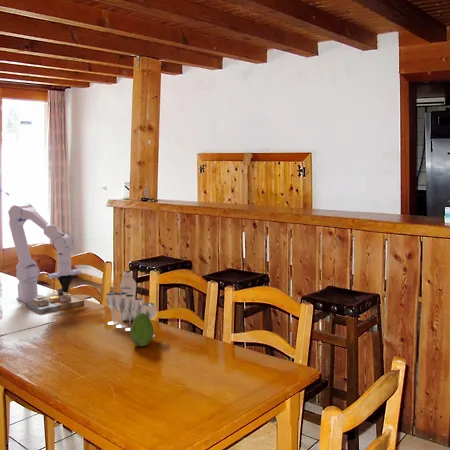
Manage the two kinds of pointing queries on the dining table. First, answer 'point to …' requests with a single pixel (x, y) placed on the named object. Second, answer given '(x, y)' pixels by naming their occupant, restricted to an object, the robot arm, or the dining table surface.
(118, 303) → the goblet set
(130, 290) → the plastic bottle
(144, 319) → the avocado
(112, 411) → the dining table surface
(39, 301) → the two-tone tabbed panel
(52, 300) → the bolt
